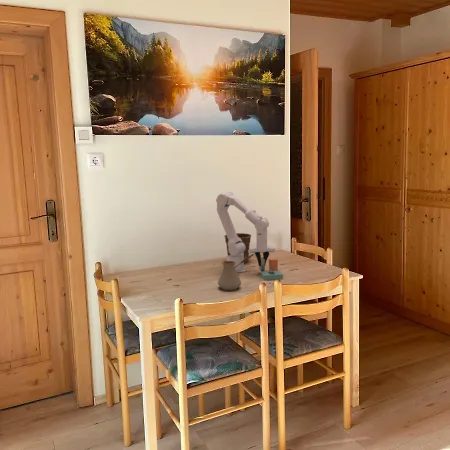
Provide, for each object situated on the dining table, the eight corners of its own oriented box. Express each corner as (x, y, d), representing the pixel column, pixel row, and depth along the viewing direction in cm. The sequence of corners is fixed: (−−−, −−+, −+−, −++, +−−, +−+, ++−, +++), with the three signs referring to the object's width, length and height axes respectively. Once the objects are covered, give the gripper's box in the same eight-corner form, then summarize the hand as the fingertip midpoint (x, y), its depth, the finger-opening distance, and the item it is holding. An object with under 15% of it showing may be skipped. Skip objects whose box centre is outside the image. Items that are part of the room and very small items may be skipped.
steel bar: (261, 271, 249) (261, 259, 248) (259, 269, 253) (259, 257, 252) (264, 271, 249) (264, 259, 248) (262, 269, 254) (262, 257, 252)
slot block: (264, 280, 239) (264, 275, 238) (260, 276, 246) (260, 271, 246) (282, 279, 240) (282, 274, 240) (278, 275, 248) (278, 270, 247)
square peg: (270, 272, 253) (270, 260, 252) (268, 270, 257) (268, 258, 256) (277, 272, 254) (277, 259, 253) (275, 270, 258) (275, 257, 257)
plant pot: (222, 259, 285) (222, 233, 283) (248, 257, 288) (247, 232, 285) (227, 265, 269) (226, 238, 267) (254, 264, 272) (254, 237, 269)
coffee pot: (226, 293, 219) (225, 262, 217) (213, 287, 228) (212, 257, 226) (261, 285, 231) (261, 255, 228) (248, 279, 240) (247, 251, 238)
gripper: (250, 243, 244) (250, 268, 246) (276, 241, 246) (276, 266, 248) (247, 240, 250) (247, 265, 253) (273, 239, 253) (273, 263, 255)
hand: (261, 265), depth 251 cm, fingers closed on steel bar, 2 cm apart
